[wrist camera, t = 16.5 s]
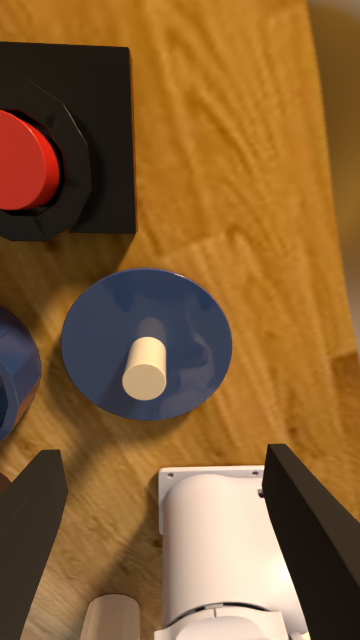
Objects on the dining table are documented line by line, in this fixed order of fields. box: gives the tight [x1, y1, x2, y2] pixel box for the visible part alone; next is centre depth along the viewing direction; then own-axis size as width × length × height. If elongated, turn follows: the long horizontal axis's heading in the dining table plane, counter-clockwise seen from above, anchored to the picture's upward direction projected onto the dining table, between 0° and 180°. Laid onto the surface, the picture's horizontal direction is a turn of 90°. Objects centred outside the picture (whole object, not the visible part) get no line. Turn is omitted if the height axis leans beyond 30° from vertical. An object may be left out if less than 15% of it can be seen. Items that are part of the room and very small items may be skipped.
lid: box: [61, 267, 232, 421], centre depth 18 cm, size 11×11×4 cm
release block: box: [0, 41, 138, 242], centre depth 14 cm, size 10×8×3 cm
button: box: [0, 110, 60, 210], centre depth 12 cm, size 4×4×2 cm
